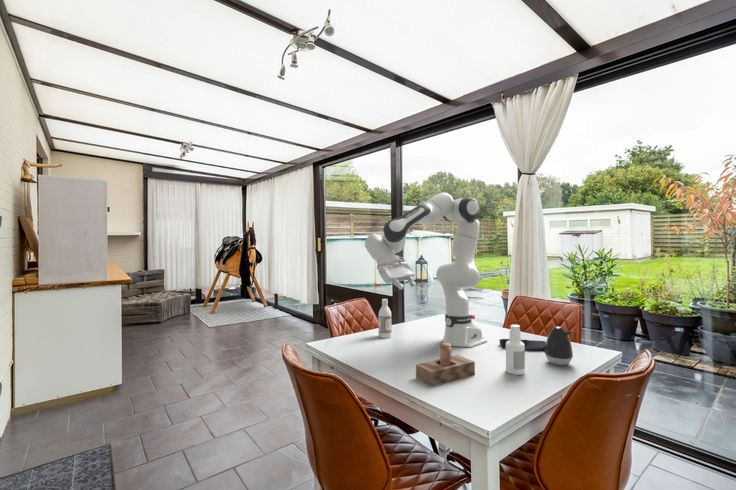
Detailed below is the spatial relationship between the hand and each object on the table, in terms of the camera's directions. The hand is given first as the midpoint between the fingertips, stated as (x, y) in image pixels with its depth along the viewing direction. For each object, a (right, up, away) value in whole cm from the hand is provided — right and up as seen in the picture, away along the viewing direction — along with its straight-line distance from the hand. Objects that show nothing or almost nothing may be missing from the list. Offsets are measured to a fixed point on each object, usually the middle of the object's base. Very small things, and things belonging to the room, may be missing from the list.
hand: (408, 287), depth 149 cm
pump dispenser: (+61, -31, -5) cm, 69 cm away
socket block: (+12, -31, -17) cm, 38 cm away
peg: (+12, -32, -17) cm, 38 cm away
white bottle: (+40, -31, -13) cm, 53 cm away
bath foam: (-8, -31, +38) cm, 50 cm away
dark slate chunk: (+57, -31, +18) cm, 68 cm away
